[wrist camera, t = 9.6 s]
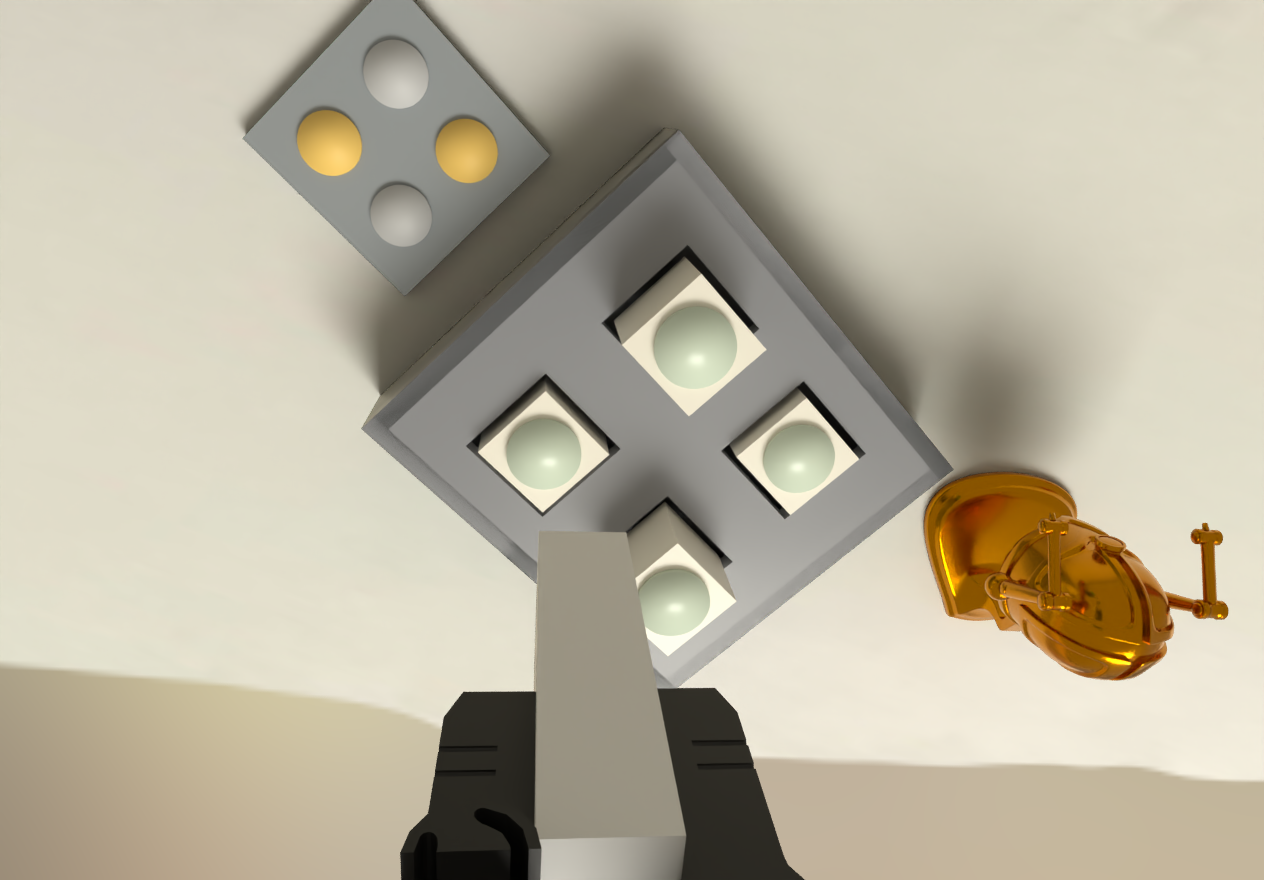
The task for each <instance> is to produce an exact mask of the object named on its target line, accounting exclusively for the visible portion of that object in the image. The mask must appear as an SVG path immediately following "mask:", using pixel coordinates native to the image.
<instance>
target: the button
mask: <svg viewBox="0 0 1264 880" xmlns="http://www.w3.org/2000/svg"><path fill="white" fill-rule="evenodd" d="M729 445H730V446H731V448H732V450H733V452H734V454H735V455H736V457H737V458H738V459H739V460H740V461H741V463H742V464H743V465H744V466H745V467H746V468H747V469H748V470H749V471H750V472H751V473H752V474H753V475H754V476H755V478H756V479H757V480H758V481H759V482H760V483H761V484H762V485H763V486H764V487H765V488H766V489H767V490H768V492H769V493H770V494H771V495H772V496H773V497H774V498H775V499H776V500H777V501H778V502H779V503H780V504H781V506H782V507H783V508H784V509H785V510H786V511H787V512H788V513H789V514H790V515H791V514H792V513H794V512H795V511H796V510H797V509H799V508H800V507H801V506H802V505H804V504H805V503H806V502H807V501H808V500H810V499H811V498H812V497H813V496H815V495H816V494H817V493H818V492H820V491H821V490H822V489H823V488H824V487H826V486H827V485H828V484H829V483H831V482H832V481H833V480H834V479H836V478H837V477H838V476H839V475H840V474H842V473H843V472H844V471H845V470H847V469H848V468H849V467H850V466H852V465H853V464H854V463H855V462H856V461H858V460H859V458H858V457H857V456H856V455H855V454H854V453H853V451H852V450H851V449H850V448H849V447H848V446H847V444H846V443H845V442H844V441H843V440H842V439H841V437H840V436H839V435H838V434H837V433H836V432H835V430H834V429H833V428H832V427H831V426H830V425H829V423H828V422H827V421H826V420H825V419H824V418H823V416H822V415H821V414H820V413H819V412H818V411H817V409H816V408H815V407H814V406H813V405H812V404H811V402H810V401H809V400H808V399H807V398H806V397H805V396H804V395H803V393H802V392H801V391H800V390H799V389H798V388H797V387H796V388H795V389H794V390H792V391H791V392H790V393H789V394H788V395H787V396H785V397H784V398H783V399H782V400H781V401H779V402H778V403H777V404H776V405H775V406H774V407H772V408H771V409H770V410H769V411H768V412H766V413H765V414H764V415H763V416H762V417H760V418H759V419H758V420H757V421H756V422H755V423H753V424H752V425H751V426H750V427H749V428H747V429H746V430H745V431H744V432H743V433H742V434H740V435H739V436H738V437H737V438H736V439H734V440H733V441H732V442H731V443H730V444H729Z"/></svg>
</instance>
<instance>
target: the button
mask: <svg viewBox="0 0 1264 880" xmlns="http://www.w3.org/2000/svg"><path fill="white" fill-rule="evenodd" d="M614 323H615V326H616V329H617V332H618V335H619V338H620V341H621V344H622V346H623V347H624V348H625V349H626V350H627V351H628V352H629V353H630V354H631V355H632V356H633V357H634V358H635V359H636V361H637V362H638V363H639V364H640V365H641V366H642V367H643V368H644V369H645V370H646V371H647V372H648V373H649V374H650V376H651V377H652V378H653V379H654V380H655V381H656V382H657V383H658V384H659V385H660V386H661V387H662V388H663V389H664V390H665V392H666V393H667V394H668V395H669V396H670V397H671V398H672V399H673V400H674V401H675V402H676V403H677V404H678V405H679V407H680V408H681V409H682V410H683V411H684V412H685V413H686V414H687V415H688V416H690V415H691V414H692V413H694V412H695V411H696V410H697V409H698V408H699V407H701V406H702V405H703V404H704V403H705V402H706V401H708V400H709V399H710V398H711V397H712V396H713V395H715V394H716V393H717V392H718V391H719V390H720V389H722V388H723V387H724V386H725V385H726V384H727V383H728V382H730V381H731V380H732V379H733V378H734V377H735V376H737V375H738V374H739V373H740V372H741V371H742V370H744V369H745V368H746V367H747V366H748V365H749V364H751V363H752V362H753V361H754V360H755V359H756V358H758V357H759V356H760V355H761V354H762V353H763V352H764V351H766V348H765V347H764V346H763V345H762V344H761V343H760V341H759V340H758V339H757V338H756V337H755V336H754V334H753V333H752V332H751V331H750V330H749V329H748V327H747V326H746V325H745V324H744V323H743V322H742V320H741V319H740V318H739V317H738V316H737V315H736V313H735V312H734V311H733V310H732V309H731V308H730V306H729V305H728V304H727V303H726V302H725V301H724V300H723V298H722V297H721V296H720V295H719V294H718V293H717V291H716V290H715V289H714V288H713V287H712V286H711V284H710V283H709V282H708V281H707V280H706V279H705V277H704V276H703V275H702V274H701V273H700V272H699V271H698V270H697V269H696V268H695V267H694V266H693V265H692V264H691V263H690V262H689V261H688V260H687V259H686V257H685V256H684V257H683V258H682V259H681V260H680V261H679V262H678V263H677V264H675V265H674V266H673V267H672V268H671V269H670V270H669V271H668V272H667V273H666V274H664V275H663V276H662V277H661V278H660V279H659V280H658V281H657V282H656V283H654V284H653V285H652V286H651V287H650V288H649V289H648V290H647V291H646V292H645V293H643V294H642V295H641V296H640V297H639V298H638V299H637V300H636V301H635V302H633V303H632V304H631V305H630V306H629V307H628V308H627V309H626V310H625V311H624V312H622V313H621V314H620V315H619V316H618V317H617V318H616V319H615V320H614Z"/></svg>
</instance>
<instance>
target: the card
mask: <svg viewBox="0 0 1264 880" xmlns="http://www.w3.org/2000/svg"><path fill="white" fill-rule="evenodd" d="M243 139H244V140H245V141H246V142H247V143H248V144H249V145H250V146H251V147H252V148H253V149H254V150H255V151H256V152H257V153H258V154H259V155H260V156H261V157H262V158H263V159H264V160H265V161H266V162H267V163H268V164H269V165H270V166H271V167H272V168H273V169H274V170H275V171H277V172H278V173H279V174H280V175H281V176H282V177H283V178H284V179H285V180H286V181H287V182H288V183H289V184H290V185H291V186H292V187H293V188H294V189H295V190H296V191H297V192H298V193H299V194H300V195H301V196H302V197H303V198H304V199H305V200H306V201H307V202H308V203H309V204H310V205H311V206H312V207H313V208H315V209H316V210H317V211H318V212H319V213H320V214H321V215H322V216H323V217H324V218H325V219H326V220H327V221H328V222H329V223H330V224H331V225H332V226H333V227H334V228H335V229H336V230H337V231H338V232H339V233H340V234H341V235H342V236H343V237H344V238H345V239H346V240H347V241H348V242H349V243H350V244H352V245H353V246H354V247H355V248H356V249H357V250H358V251H359V252H360V253H361V254H362V255H363V256H364V257H365V258H366V259H367V260H368V261H369V262H370V263H371V264H372V265H373V266H374V267H375V268H376V269H377V270H378V271H379V272H380V273H381V274H382V275H383V276H384V277H385V278H386V279H387V280H388V281H390V282H391V283H392V284H393V285H394V286H395V287H396V288H397V289H398V290H399V291H400V292H401V293H402V294H403V295H404V296H406V295H407V294H408V293H409V292H410V291H411V290H412V289H413V288H414V287H415V286H416V285H417V284H418V283H419V282H420V281H421V280H422V279H423V278H424V277H425V276H426V275H427V274H428V273H429V272H431V271H432V270H433V269H434V268H435V267H436V266H437V265H438V264H439V263H440V262H441V261H442V260H443V259H444V258H445V257H446V256H447V255H448V254H449V253H450V252H451V251H452V250H453V249H454V248H455V247H456V246H457V245H458V244H459V243H461V242H462V241H463V240H464V239H465V238H466V237H467V236H468V235H469V234H470V233H471V232H472V231H473V230H474V229H475V228H476V227H477V226H478V225H479V224H480V223H481V222H482V221H483V220H484V219H485V218H486V217H487V216H488V215H489V214H491V213H492V212H493V211H494V210H495V209H496V208H497V207H498V206H499V205H500V204H501V203H502V202H503V201H504V200H505V199H506V198H507V197H508V196H509V195H510V194H511V193H512V192H513V191H514V190H515V189H516V188H517V187H518V186H519V185H521V184H522V183H523V182H524V181H525V180H526V179H527V178H528V177H529V176H530V175H531V174H532V173H533V172H534V171H535V170H536V169H537V168H538V167H539V166H540V165H541V164H542V163H543V162H544V161H545V160H546V159H547V158H548V157H549V156H550V155H549V154H548V152H547V151H546V150H545V149H544V148H543V147H542V146H541V144H540V143H539V142H538V141H537V140H536V139H535V138H534V137H533V135H532V134H531V133H530V132H529V131H528V130H527V129H526V127H525V126H524V125H523V124H522V123H521V122H520V121H519V120H518V118H517V117H516V116H515V115H514V114H513V113H512V112H511V110H510V109H509V108H508V107H507V106H506V105H505V104H504V103H503V101H502V100H501V99H500V98H499V97H498V96H497V95H496V94H495V92H494V91H493V90H492V89H491V88H490V87H489V86H488V84H487V83H486V82H485V81H484V80H483V79H482V78H481V77H480V75H479V74H478V73H477V72H476V71H475V70H474V69H473V67H472V66H471V65H470V64H469V63H468V62H467V61H466V60H465V58H464V57H463V56H462V55H461V54H460V53H459V52H458V50H457V49H456V48H455V47H454V46H453V45H452V44H451V43H450V41H449V40H448V39H447V38H446V37H445V36H444V35H443V33H442V32H441V31H440V30H439V29H438V28H437V27H436V26H435V24H434V23H433V22H432V21H431V20H430V19H429V18H428V16H427V15H426V14H425V13H424V12H423V11H422V10H421V9H420V7H419V6H418V5H417V4H416V3H415V2H414V1H413V0H372V1H371V2H370V3H369V4H368V5H367V6H366V7H365V8H364V10H363V11H362V12H361V13H360V14H359V15H358V16H357V17H356V18H355V19H354V20H353V21H352V22H351V23H350V24H349V25H348V27H347V28H346V29H345V30H344V31H343V32H342V33H341V34H340V35H339V36H338V37H337V38H336V39H335V40H334V41H333V42H332V44H331V45H330V46H329V47H328V48H327V49H326V50H325V51H324V52H323V53H322V54H321V55H320V56H319V57H318V58H317V59H316V61H315V62H314V63H313V64H312V65H311V66H310V67H309V68H308V69H307V70H306V71H305V72H304V73H303V74H302V75H301V76H300V78H299V79H298V80H297V81H296V82H295V83H294V84H293V85H292V86H291V87H290V88H289V89H288V90H287V91H286V92H285V94H284V95H283V96H282V97H281V98H280V99H279V100H278V101H277V102H276V103H275V104H274V105H273V106H272V107H271V108H270V109H269V111H268V112H267V113H266V114H265V115H264V116H263V117H262V118H261V119H260V120H259V121H258V122H257V123H256V124H255V125H254V126H253V128H252V129H251V130H250V131H249V132H248V133H247V134H246V135H245V136H244V137H243Z"/></svg>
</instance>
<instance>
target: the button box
mask: <svg viewBox="0 0 1264 880" xmlns="http://www.w3.org/2000/svg"><path fill="white" fill-rule="evenodd" d="M684 256H685V257H686V259H687V260H688V261H689V262H690V263H691V264H692V265H693V266H694V267H695V268H696V269H697V270H698V271H699V272H700V273H701V274H702V275H703V276H704V277H705V279H706V280H707V281H708V282H709V283H710V284H711V286H712V287H713V288H714V289H715V290H716V291H717V293H718V294H719V295H720V296H721V297H722V298H723V300H724V301H725V302H726V303H727V304H728V305H729V306H730V308H731V309H732V310H733V311H734V312H735V313H736V315H737V316H738V317H739V318H740V319H741V320H742V322H743V323H744V324H745V325H746V326H747V327H748V329H749V330H750V331H751V332H752V333H753V334H754V336H755V337H756V338H757V339H758V340H759V341H760V343H761V344H762V345H763V346H764V347H765V348H766V351H764V352H763V353H762V354H761V355H760V356H759V357H758V358H756V359H755V360H754V361H753V362H752V363H751V364H749V365H748V366H747V367H746V368H745V369H744V370H742V371H741V372H740V373H739V374H738V375H737V376H735V377H734V378H733V379H732V380H731V381H730V382H728V383H727V384H726V385H725V386H724V387H723V388H722V389H720V390H719V391H718V392H717V393H716V394H715V395H713V396H712V397H711V398H710V399H709V400H708V401H706V402H705V403H704V404H703V405H702V406H701V407H699V408H698V409H697V410H696V411H695V412H694V413H692V414H691V415H690V416H688V415H687V414H686V413H685V412H684V411H683V410H682V409H681V408H680V407H679V405H678V404H677V403H676V402H675V401H674V400H673V399H672V398H671V397H670V396H669V395H668V394H667V393H666V392H665V390H664V389H663V388H662V387H661V386H660V385H659V384H658V383H657V382H656V381H655V380H654V379H653V378H652V377H651V376H650V374H649V373H648V372H647V371H646V370H645V369H644V368H643V367H642V366H641V365H640V364H639V363H638V362H637V361H636V359H635V358H634V357H633V356H632V355H631V354H630V353H629V352H628V351H627V350H626V349H625V348H624V347H623V346H622V344H621V341H620V338H619V335H618V332H617V329H616V326H615V323H614V320H615V319H616V318H617V317H618V316H619V315H620V314H621V313H622V312H624V311H625V310H626V309H627V308H628V307H629V306H630V305H631V304H632V303H633V302H635V301H636V300H637V299H638V298H639V297H640V296H641V295H642V294H643V293H645V292H646V291H647V290H648V289H649V288H650V287H651V286H652V285H653V284H654V283H656V282H657V281H658V280H659V279H660V278H661V277H662V276H663V275H664V274H666V273H667V272H668V271H669V270H670V269H671V268H672V267H673V266H674V265H675V264H677V263H678V262H679V261H680V260H681V259H682V258H683V257H684ZM545 374H547V375H548V376H549V377H550V378H551V379H552V380H553V381H554V382H555V383H556V384H557V385H558V386H559V387H560V388H561V389H562V390H563V391H564V392H565V393H566V394H567V395H568V396H569V397H570V398H571V399H572V400H573V401H574V402H575V403H576V404H577V405H578V406H579V407H580V408H581V409H582V410H583V411H584V412H585V413H586V414H587V415H588V416H589V418H590V419H591V420H592V421H593V422H594V423H595V424H596V425H597V426H598V427H599V428H600V429H601V430H602V431H603V432H604V433H605V435H606V440H607V445H608V451H609V455H608V456H607V457H606V458H605V459H604V460H603V461H601V462H600V463H599V464H598V465H597V466H596V467H595V468H593V469H592V470H591V471H590V472H589V473H588V474H586V475H585V476H584V477H583V478H582V479H581V480H580V481H578V482H577V483H576V484H575V485H574V486H573V487H572V488H570V489H569V490H568V491H567V492H566V493H565V494H563V495H562V496H561V497H560V498H559V499H558V500H557V501H555V502H554V503H553V504H552V505H551V506H550V507H549V508H547V509H546V510H545V511H544V512H542V511H541V510H539V509H538V508H537V507H536V506H535V505H534V504H533V503H532V502H531V501H530V500H529V499H528V498H527V497H525V496H524V495H523V494H522V493H521V492H520V491H519V490H518V489H517V488H516V487H515V486H514V485H512V484H511V483H510V482H509V481H508V480H507V479H506V478H505V477H504V476H503V475H502V474H501V473H500V472H498V471H497V470H496V469H495V468H494V467H493V466H492V465H491V464H490V463H489V462H488V461H487V460H486V459H484V458H483V457H482V456H481V455H480V454H479V453H478V449H479V443H480V438H481V433H482V431H483V430H484V429H485V428H486V427H487V426H489V425H490V424H491V423H492V422H493V421H494V420H495V419H496V418H497V417H498V416H500V415H501V414H502V413H503V412H504V411H505V410H506V409H507V408H508V407H509V406H511V405H512V404H513V403H514V402H515V401H516V400H517V399H518V398H519V397H521V396H522V395H523V394H524V393H525V392H526V391H527V390H528V389H529V388H530V387H532V386H533V385H534V384H535V383H536V382H537V381H538V380H539V379H540V378H541V377H543V376H544V375H545ZM796 387H797V388H798V389H799V390H800V391H801V392H802V393H803V395H804V396H805V397H806V398H807V399H808V400H809V401H810V402H811V404H812V405H813V406H814V407H815V408H816V409H817V411H818V412H819V413H820V414H821V415H822V416H823V418H824V419H825V420H826V421H827V422H828V423H829V425H830V426H831V427H832V428H833V429H834V430H835V432H836V433H837V434H838V435H839V436H840V437H841V439H842V440H843V441H844V442H845V443H846V444H847V446H848V447H849V448H850V449H851V450H852V451H853V453H854V454H855V455H856V456H857V457H858V458H859V460H858V461H856V462H855V463H854V464H853V465H852V466H850V467H849V468H848V469H847V470H845V471H844V472H843V473H842V474H840V475H839V476H838V477H837V478H836V479H834V480H833V481H832V482H831V483H829V484H828V485H827V486H826V487H824V488H823V489H822V490H821V491H820V492H818V493H817V494H816V495H815V496H813V497H812V498H811V499H810V500H808V501H807V502H806V503H805V504H804V505H802V506H801V507H800V508H799V509H797V510H796V511H795V512H794V513H792V514H791V515H790V514H789V513H788V512H787V511H786V510H785V509H784V508H783V507H782V506H781V504H780V503H779V502H778V501H777V500H776V499H775V498H774V497H773V496H772V495H771V494H770V493H769V492H768V490H767V489H766V488H765V487H764V486H763V485H762V484H761V483H760V482H759V481H758V480H757V479H756V478H755V476H754V475H753V474H752V473H751V472H750V471H749V470H748V469H747V468H746V467H745V466H744V465H743V464H742V463H741V461H740V460H739V459H738V458H737V457H736V455H735V454H734V452H733V450H732V448H731V446H730V445H729V444H730V443H731V442H732V441H733V440H734V439H736V438H737V437H738V436H739V435H740V434H742V433H743V432H744V431H745V430H746V429H747V428H749V427H750V426H751V425H752V424H753V423H755V422H756V421H757V420H758V419H759V418H760V417H762V416H763V415H764V414H765V413H766V412H768V411H769V410H770V409H771V408H772V407H774V406H775V405H776V404H777V403H778V402H779V401H781V400H782V399H783V398H784V397H785V396H787V395H788V394H789V393H790V392H791V391H792V390H794V389H795V388H796ZM361 429H362V430H363V431H364V432H365V433H367V434H368V435H369V436H370V437H371V438H372V439H373V440H374V441H376V442H377V443H378V444H379V445H380V446H381V447H382V448H384V449H385V450H386V451H387V452H388V453H389V454H390V455H391V456H393V457H394V458H395V459H396V460H397V461H398V462H399V463H400V464H402V465H403V466H404V467H405V468H406V469H407V470H408V471H410V472H411V473H412V474H413V475H414V476H415V477H416V478H417V479H419V480H420V481H421V482H422V483H423V484H424V485H425V486H426V487H428V488H429V489H430V490H431V491H432V492H433V493H434V494H436V495H437V496H438V497H439V498H440V499H441V500H442V501H443V502H445V503H446V504H447V505H448V506H449V507H450V508H451V509H452V510H454V511H455V512H456V513H457V514H458V515H459V516H460V517H462V518H463V519H464V520H465V521H466V522H467V523H468V524H469V525H471V526H472V527H473V528H474V529H475V530H476V531H477V532H478V533H480V534H481V535H482V536H483V537H484V538H485V539H486V540H488V541H489V542H490V543H491V544H492V545H493V546H494V547H495V548H497V549H498V550H499V551H500V552H501V553H502V554H503V555H504V556H506V557H507V558H508V559H509V560H510V561H511V562H512V563H514V564H515V565H516V566H517V567H518V568H519V569H520V570H521V571H523V572H524V573H525V574H526V575H527V576H528V577H529V578H530V579H532V580H533V581H534V582H535V583H536V584H537V567H538V536H539V531H574V532H626V533H628V532H629V531H631V530H632V529H633V528H634V527H635V526H637V525H638V524H639V523H640V522H641V521H642V520H644V519H645V518H646V517H647V516H648V515H650V514H651V513H652V512H653V511H654V510H656V509H657V508H658V507H659V506H660V505H661V504H663V503H664V502H666V503H667V504H668V505H669V506H670V507H671V508H672V509H673V510H674V511H675V512H676V513H677V514H678V515H679V516H680V517H681V518H682V519H683V520H684V521H685V522H686V523H687V524H688V525H689V526H690V527H691V528H692V529H693V530H694V531H695V532H696V533H697V534H698V535H699V536H700V537H701V538H702V539H703V540H704V541H705V542H706V543H707V544H708V545H709V546H710V547H711V548H712V549H713V550H714V551H715V552H716V553H717V554H718V555H719V558H720V560H721V563H722V565H723V568H724V570H725V573H726V575H727V578H728V581H729V583H730V586H731V588H732V591H733V593H734V596H735V598H736V602H735V603H734V604H733V605H731V606H730V607H729V608H728V609H726V610H725V611H724V612H723V613H721V614H720V615H719V616H718V617H716V618H715V619H714V620H713V621H711V622H710V623H709V624H708V625H707V626H705V627H704V628H703V629H702V630H700V631H699V632H698V633H697V634H695V635H694V636H693V637H692V638H690V639H689V640H688V641H687V642H685V643H684V644H683V645H682V646H680V647H679V648H678V649H677V650H675V651H674V652H673V653H672V654H670V655H669V656H667V655H666V654H665V653H664V652H662V651H661V650H660V649H659V648H658V647H657V646H656V645H655V644H654V643H653V642H651V641H650V640H649V639H648V638H647V639H648V645H649V650H650V655H651V660H652V665H653V670H654V675H655V680H656V685H657V688H678V687H679V686H680V685H681V684H683V683H684V682H685V681H687V680H688V679H689V678H690V677H692V676H693V675H694V674H695V673H697V672H698V671H699V670H700V669H702V668H703V667H704V666H706V665H707V664H708V663H709V662H711V661H712V660H713V659H714V658H716V657H717V656H718V655H719V654H721V653H722V652H723V651H725V650H726V649H727V648H728V647H730V646H731V645H732V644H733V643H735V642H736V641H737V640H738V639H740V638H741V637H742V636H743V635H745V634H746V633H747V632H749V631H750V630H751V629H752V628H754V627H755V626H756V625H757V624H759V623H760V622H761V621H762V620H764V619H765V618H766V617H768V616H769V615H770V614H771V613H773V612H774V611H775V610H776V609H778V608H779V607H780V606H781V605H783V604H784V603H785V602H787V601H788V600H789V599H790V598H792V597H793V596H794V595H795V594H797V593H798V592H799V591H800V590H802V589H803V588H804V587H806V586H807V585H808V584H809V583H811V582H812V581H813V580H814V579H816V578H817V577H818V576H819V575H821V574H822V573H823V572H825V571H826V570H827V569H828V568H830V567H831V566H832V565H833V564H835V563H836V562H837V561H838V560H840V559H841V558H842V557H843V556H845V555H846V554H847V553H849V552H850V551H851V550H852V549H854V548H855V547H856V546H857V545H859V544H860V543H861V542H862V541H864V540H865V539H866V538H868V537H869V536H870V535H871V534H873V533H874V532H875V531H876V530H878V529H879V528H880V527H881V526H883V525H884V524H885V523H887V522H888V521H889V520H890V519H892V518H893V517H894V516H895V515H897V514H898V513H899V512H900V511H902V510H903V509H904V508H906V507H907V506H908V505H909V504H911V503H912V502H913V501H914V500H916V499H917V498H918V497H919V496H921V495H922V494H923V493H924V492H926V491H927V490H928V489H930V488H931V487H932V486H933V485H935V484H936V483H937V482H938V481H940V480H941V479H942V478H943V477H945V476H946V475H947V474H949V473H950V472H951V471H952V470H954V469H953V468H952V467H951V465H950V464H949V463H948V462H947V461H946V459H945V458H944V457H943V456H942V454H941V453H940V452H939V451H938V449H937V448H936V447H935V446H934V444H933V443H932V442H931V441H930V440H929V438H928V437H927V436H926V435H925V433H924V432H923V431H922V430H921V428H920V427H919V426H918V425H917V423H916V422H915V421H914V420H913V418H912V417H911V416H910V415H909V414H908V412H907V411H906V410H905V409H904V407H903V406H902V405H901V404H900V402H899V401H898V400H897V399H896V397H895V396H894V395H893V394H892V392H891V391H890V390H889V389H888V388H887V386H886V385H885V384H884V383H883V381H882V380H881V379H880V378H879V376H878V375H877V374H876V373H875V371H874V370H873V369H872V368H871V367H870V365H869V364H868V363H867V362H866V360H865V359H864V358H863V357H862V355H861V354H860V353H859V352H858V350H857V349H856V348H855V347H854V345H853V344H852V343H851V342H850V341H849V339H848V338H847V337H846V336H845V334H844V333H843V332H842V331H841V329H840V328H839V327H838V326H837V324H836V323H835V322H834V321H833V320H832V318H831V317H830V316H829V315H828V313H827V312H826V311H825V310H824V308H823V307H822V306H821V305H820V303H819V302H818V301H817V300H816V298H815V297H814V296H813V295H812V294H811V292H810V291H809V290H808V289H807V287H806V286H805V285H804V284H803V282H802V281H801V280H800V279H799V277H798V276H797V275H796V274H795V273H794V271H793V270H792V269H791V268H790V266H789V265H788V264H787V263H786V261H785V260H784V259H783V258H782V256H781V255H780V254H779V253H778V251H777V250H776V249H775V248H774V247H773V245H772V244H771V243H770V242H769V240H768V239H767V238H766V237H765V235H764V234H763V233H762V232H761V230H760V229H759V228H758V227H757V226H756V224H755V223H754V222H753V221H752V219H751V218H750V217H749V216H748V214H747V213H746V212H745V211H744V209H743V208H742V207H741V206H740V204H739V203H738V202H737V201H736V200H735V198H734V197H733V196H732V195H731V193H730V192H729V191H728V190H727V188H726V187H725V186H724V185H723V183H722V182H721V181H720V180H719V179H718V177H717V176H716V175H715V174H714V172H713V171H712V170H711V169H710V167H709V166H708V165H707V164H706V162H705V161H704V160H703V159H702V157H701V156H700V155H699V154H698V153H697V151H696V150H695V149H694V148H693V146H692V145H691V144H690V143H689V141H688V140H687V139H686V138H685V136H684V135H683V134H682V133H681V132H680V130H676V129H669V128H663V129H662V130H661V131H660V132H659V133H658V134H657V135H656V136H655V137H654V138H653V139H652V140H651V141H649V142H648V143H647V144H646V145H645V146H644V147H643V148H642V149H641V150H640V151H639V152H638V153H637V154H636V155H635V156H634V157H633V158H631V159H630V160H629V161H628V162H627V163H626V164H625V165H624V166H623V167H622V168H621V169H620V170H619V171H618V172H617V173H616V174H615V175H613V176H612V177H611V178H610V179H609V180H608V181H607V182H606V183H605V184H604V185H603V186H602V187H601V188H600V189H599V190H598V191H597V192H595V193H594V194H593V195H592V196H591V197H590V198H589V199H588V200H587V201H586V202H585V203H584V204H583V205H582V206H581V207H580V208H579V209H577V210H576V211H575V212H574V213H573V214H572V215H571V216H570V217H569V218H568V219H567V220H566V221H565V222H564V223H563V224H562V225H561V226H559V227H558V228H557V229H556V230H555V231H554V232H553V233H552V234H551V235H550V236H549V237H548V238H547V239H546V240H545V241H544V242H543V243H541V244H540V245H539V246H538V247H537V248H536V249H535V250H534V251H533V252H532V253H531V254H530V255H529V256H528V257H527V258H526V259H525V260H523V261H522V262H521V263H520V264H519V265H518V266H517V267H516V268H515V269H514V270H513V271H512V272H511V273H510V274H509V275H508V276H507V277H505V278H504V279H503V280H502V281H501V282H500V283H499V284H498V285H497V286H496V287H495V288H494V289H493V290H492V291H491V292H490V293H489V294H487V295H486V296H485V297H484V298H483V299H482V300H481V301H480V302H479V303H478V304H477V305H476V306H475V307H474V308H473V309H472V310H471V311H469V312H468V313H467V314H466V315H465V316H464V317H463V318H462V319H461V320H460V321H459V322H458V323H457V324H456V325H455V326H454V327H453V328H451V329H450V330H449V331H448V332H447V333H446V334H445V335H444V336H443V337H442V338H441V339H440V340H439V341H438V342H437V343H436V344H435V345H434V346H432V347H431V348H430V349H429V350H428V351H427V352H426V353H425V354H424V355H423V356H422V357H421V358H420V359H419V360H418V361H417V362H416V363H414V364H413V365H412V366H411V367H410V368H409V369H408V370H407V371H406V372H405V373H404V374H403V375H402V376H401V377H400V378H399V379H398V380H396V381H395V382H394V383H393V384H392V385H391V386H390V387H389V388H388V389H387V390H386V391H385V392H384V393H383V394H382V395H381V396H380V397H379V399H378V400H377V402H376V404H375V406H374V407H373V409H372V411H371V413H370V414H369V416H368V418H367V420H366V421H365V423H364V425H363V427H362V428H361Z"/></svg>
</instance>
